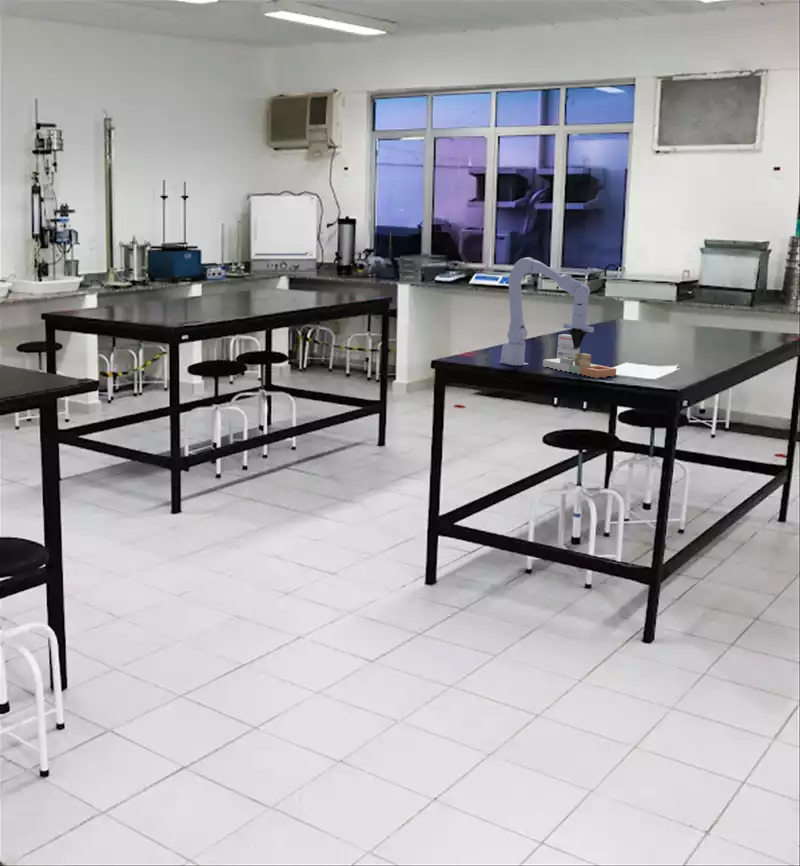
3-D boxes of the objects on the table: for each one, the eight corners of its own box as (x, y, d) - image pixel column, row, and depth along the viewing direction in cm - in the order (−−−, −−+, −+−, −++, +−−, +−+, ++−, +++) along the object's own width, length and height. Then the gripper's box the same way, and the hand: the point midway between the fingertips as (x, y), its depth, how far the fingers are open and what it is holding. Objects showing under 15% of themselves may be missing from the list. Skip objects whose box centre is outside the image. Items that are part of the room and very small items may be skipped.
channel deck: (542, 366, 423) (543, 354, 422) (562, 365, 430) (562, 353, 429) (596, 378, 402) (597, 365, 401) (615, 375, 409) (616, 363, 408)
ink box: (579, 363, 438) (581, 335, 435) (573, 364, 434) (576, 336, 431) (561, 360, 443) (563, 333, 440) (555, 361, 439) (558, 334, 436)
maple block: (574, 364, 414) (575, 353, 413) (583, 364, 416) (583, 353, 415) (581, 366, 410) (582, 355, 409) (590, 365, 412) (591, 354, 411)
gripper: (559, 312, 416) (556, 345, 419) (587, 317, 405) (583, 350, 409) (570, 312, 421) (567, 344, 424) (598, 316, 410) (595, 349, 413)
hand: (576, 347), depth 416 cm, fingers closed
